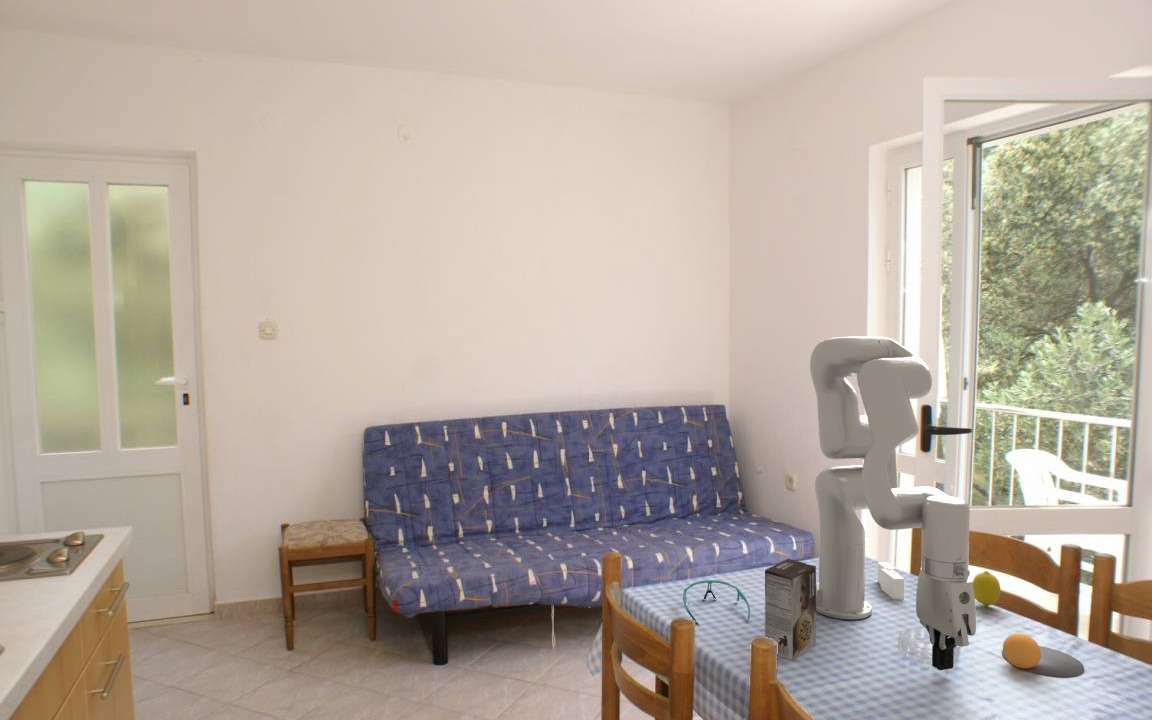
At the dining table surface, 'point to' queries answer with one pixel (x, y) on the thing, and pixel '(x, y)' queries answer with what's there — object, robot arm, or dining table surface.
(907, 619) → the dining table surface
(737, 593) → the safety glasses
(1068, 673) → the gray round disc
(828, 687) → the dining table surface
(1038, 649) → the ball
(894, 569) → the napkin holder
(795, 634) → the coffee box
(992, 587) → the lemon
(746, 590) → the dining table surface
